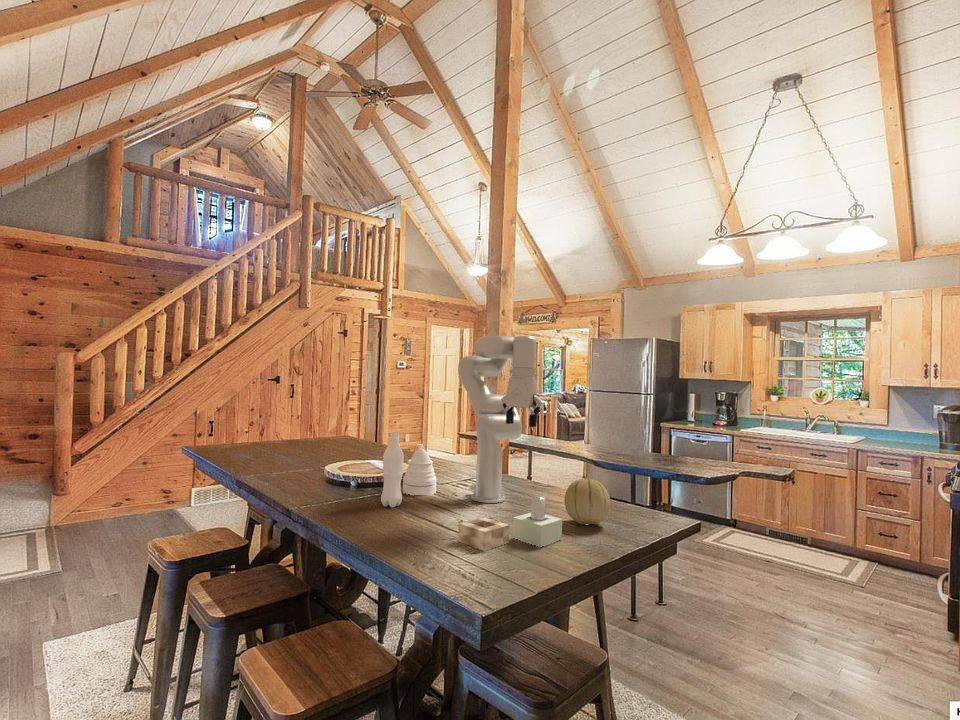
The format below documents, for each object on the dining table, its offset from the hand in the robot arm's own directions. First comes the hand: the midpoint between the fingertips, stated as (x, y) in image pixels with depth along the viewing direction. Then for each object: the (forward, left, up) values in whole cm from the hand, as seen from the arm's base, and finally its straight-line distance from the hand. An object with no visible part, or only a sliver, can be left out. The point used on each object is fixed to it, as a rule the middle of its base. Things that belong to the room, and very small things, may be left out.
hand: (520, 425), depth 170 cm
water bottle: (-36, -24, -31) cm, 53 cm away
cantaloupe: (+19, +12, -31) cm, 38 cm away
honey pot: (-46, -3, -31) cm, 55 cm away
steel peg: (+18, -13, -30) cm, 38 cm away
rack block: (+18, -13, -30) cm, 38 cm away
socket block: (+10, -27, -30) cm, 42 cm away
